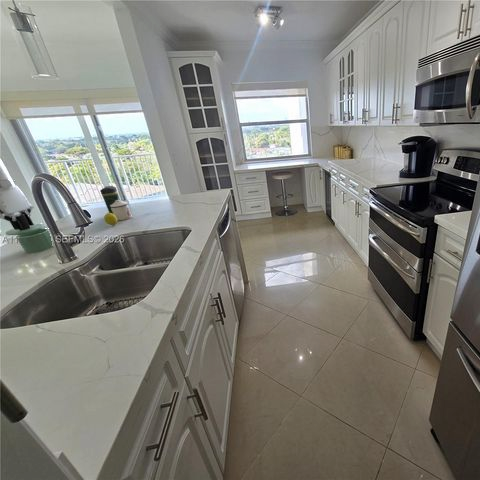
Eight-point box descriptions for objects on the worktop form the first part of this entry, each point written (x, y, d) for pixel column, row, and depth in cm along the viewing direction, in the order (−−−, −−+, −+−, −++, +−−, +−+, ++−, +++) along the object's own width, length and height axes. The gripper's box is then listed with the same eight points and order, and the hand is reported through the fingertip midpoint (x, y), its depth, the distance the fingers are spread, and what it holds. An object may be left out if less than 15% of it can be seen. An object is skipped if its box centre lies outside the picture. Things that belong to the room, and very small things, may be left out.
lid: (1, 239, 103) (-10, 222, 100) (14, 229, 113) (4, 214, 110) (40, 232, 108) (31, 216, 105) (49, 224, 118) (41, 209, 115)
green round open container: (21, 256, 118) (11, 239, 114) (31, 247, 127) (21, 231, 123) (53, 249, 123) (44, 233, 119) (60, 241, 132) (51, 226, 128)
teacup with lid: (133, 218, 160) (126, 200, 155) (115, 221, 155) (107, 203, 150) (132, 213, 169) (125, 196, 164) (115, 216, 164) (108, 199, 159)
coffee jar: (124, 215, 166) (113, 187, 158) (109, 218, 163) (97, 189, 155) (126, 211, 174) (116, 184, 166) (112, 213, 171) (101, 186, 163)
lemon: (110, 224, 151) (104, 212, 147) (120, 223, 152) (115, 210, 149) (106, 228, 146) (100, 215, 143) (117, 226, 147) (111, 213, 144)
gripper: (13, 180, 110) (35, 220, 117) (-36, 190, 95) (-7, 235, 102) (30, 179, 109) (51, 220, 117) (-16, 189, 94) (12, 234, 102)
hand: (24, 226), depth 110 cm, fingers closed on lid, 3 cm apart
